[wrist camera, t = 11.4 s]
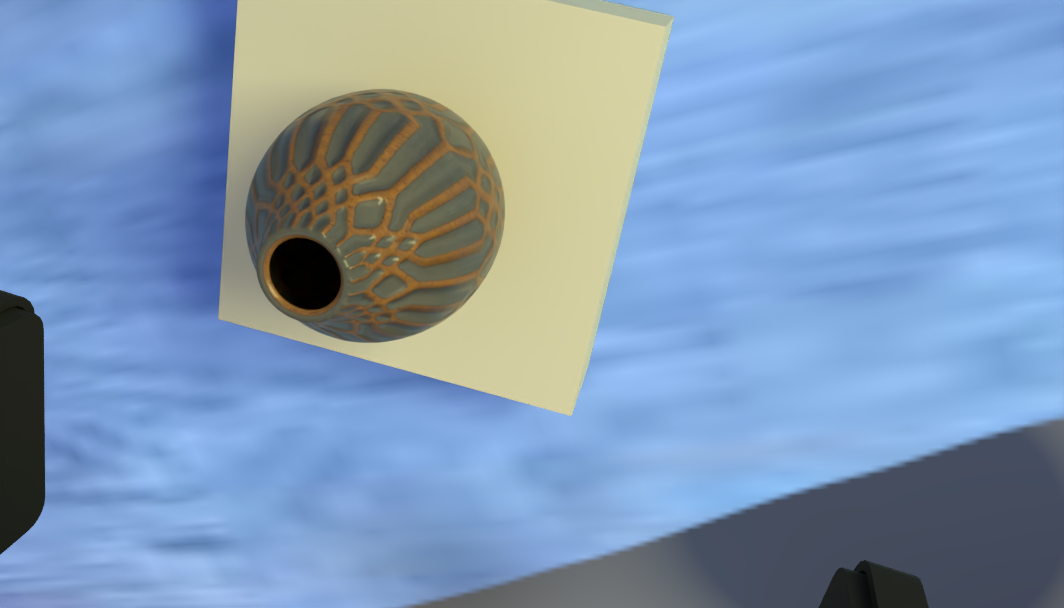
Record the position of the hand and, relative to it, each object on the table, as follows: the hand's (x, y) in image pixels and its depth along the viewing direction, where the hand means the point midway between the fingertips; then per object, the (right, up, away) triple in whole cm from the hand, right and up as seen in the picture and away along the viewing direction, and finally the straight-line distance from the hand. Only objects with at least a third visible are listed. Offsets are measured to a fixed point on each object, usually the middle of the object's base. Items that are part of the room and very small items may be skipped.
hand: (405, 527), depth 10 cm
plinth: (-1, +8, +23) cm, 24 cm away
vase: (-2, +6, +19) cm, 20 cm away
